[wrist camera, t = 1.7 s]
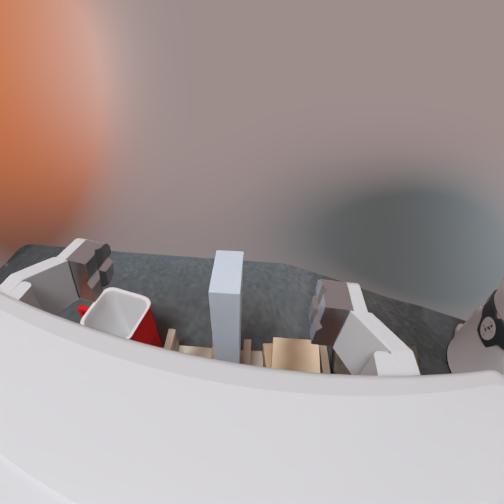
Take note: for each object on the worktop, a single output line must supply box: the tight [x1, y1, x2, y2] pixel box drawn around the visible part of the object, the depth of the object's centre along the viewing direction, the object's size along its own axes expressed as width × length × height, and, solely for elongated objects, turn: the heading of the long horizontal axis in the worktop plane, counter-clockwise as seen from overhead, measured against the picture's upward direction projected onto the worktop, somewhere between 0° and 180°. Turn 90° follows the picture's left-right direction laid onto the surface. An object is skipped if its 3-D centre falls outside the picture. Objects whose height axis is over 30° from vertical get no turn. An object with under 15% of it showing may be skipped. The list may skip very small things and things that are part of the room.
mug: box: [78, 287, 163, 348], centre depth 37 cm, size 12×8×11 cm
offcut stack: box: [262, 337, 320, 373], centre depth 35 cm, size 7×8×6 cm
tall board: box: [209, 250, 244, 363], centre depth 31 cm, size 2×6×20 cm, turn 178°
